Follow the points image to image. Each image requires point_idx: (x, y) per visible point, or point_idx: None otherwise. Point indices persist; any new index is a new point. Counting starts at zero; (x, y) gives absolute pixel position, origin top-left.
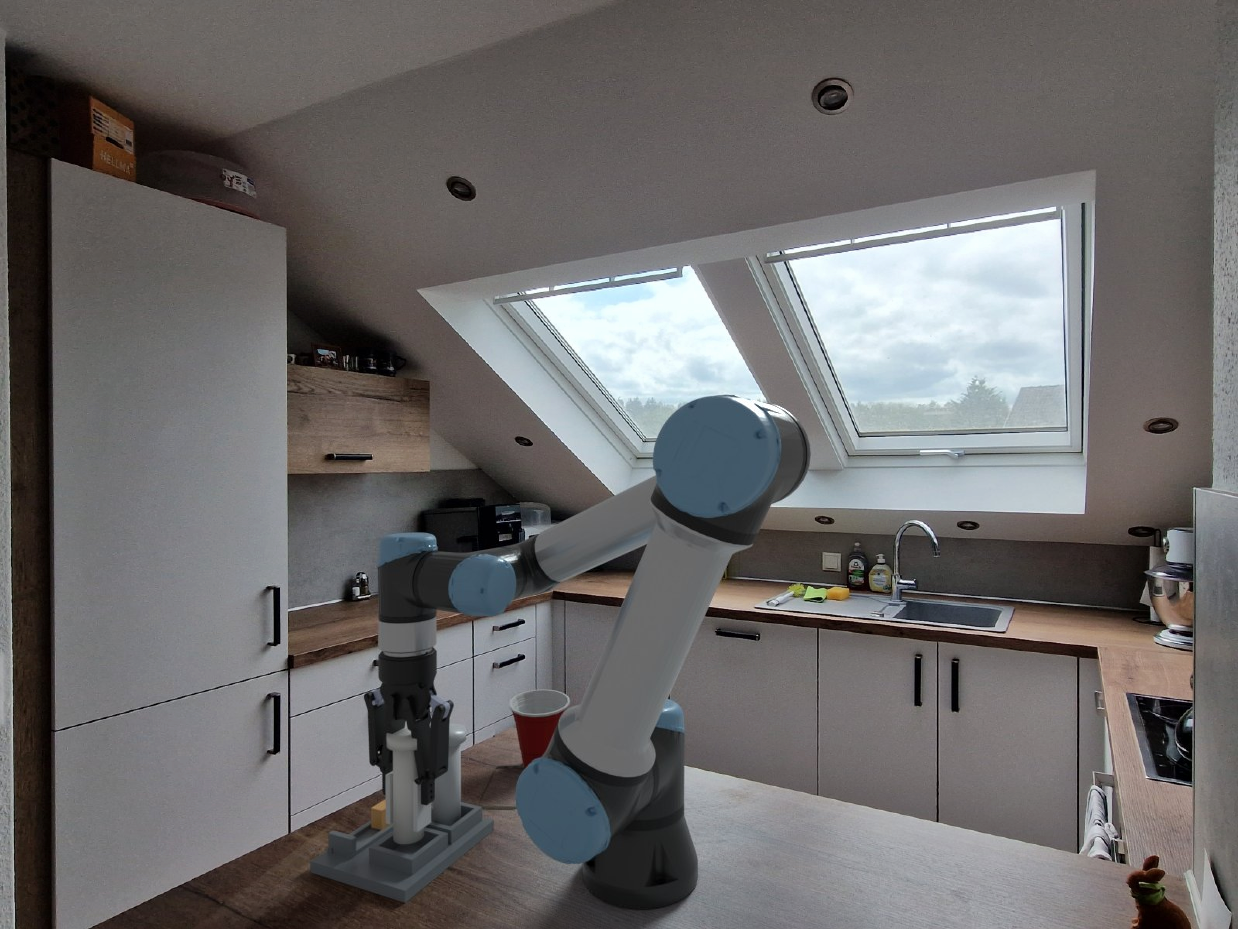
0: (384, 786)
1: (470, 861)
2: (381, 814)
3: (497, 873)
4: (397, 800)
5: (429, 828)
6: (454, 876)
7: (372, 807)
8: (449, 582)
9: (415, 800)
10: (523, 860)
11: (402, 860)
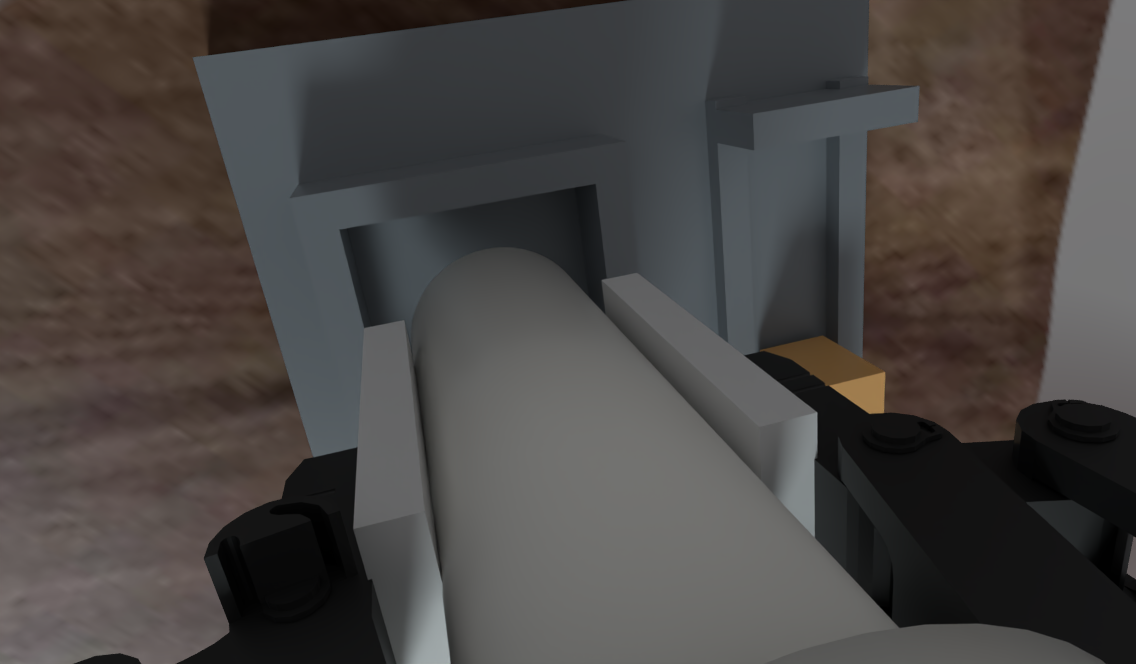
0: (790, 381)
1: (263, 480)
2: None
3: (57, 499)
4: (550, 336)
5: None
6: (214, 360)
7: (881, 378)
8: None
9: (382, 420)
10: (55, 633)
11: (366, 181)
